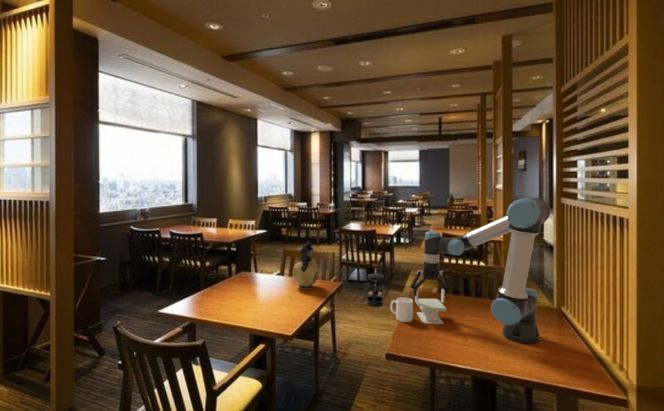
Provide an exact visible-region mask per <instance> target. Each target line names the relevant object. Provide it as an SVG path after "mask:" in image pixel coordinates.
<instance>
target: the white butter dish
mask: <svg viewBox="0 0 664 411" xmlns="http://www.w3.org/2000/svg"><path fill="white" fill-rule="evenodd" d="M416 314H417V316H418V318H419V319H420V321H421V322H422V323H423V325H444V321H443V320H442V319H441V317H440V316H439V311H422V310H421V311H420V312H419V311H417V312H416Z"/></svg>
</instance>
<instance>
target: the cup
mask: <svg viewBox="0 0 664 411" xmlns="http://www.w3.org/2000/svg"><path fill="white" fill-rule="evenodd" d="M393 304H396V306H395V308H396V310H395V311H394V310H393ZM413 307H414V300H413V299H412V298H410V297H405V296H404V297H396V300H395V299H394V300H391V302H390V304H389V308H390V313H392V314H393V315H395V318H396V320H397V321H398V322H401V323H410V322H412V321H413V314H414V308H413Z"/></svg>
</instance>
